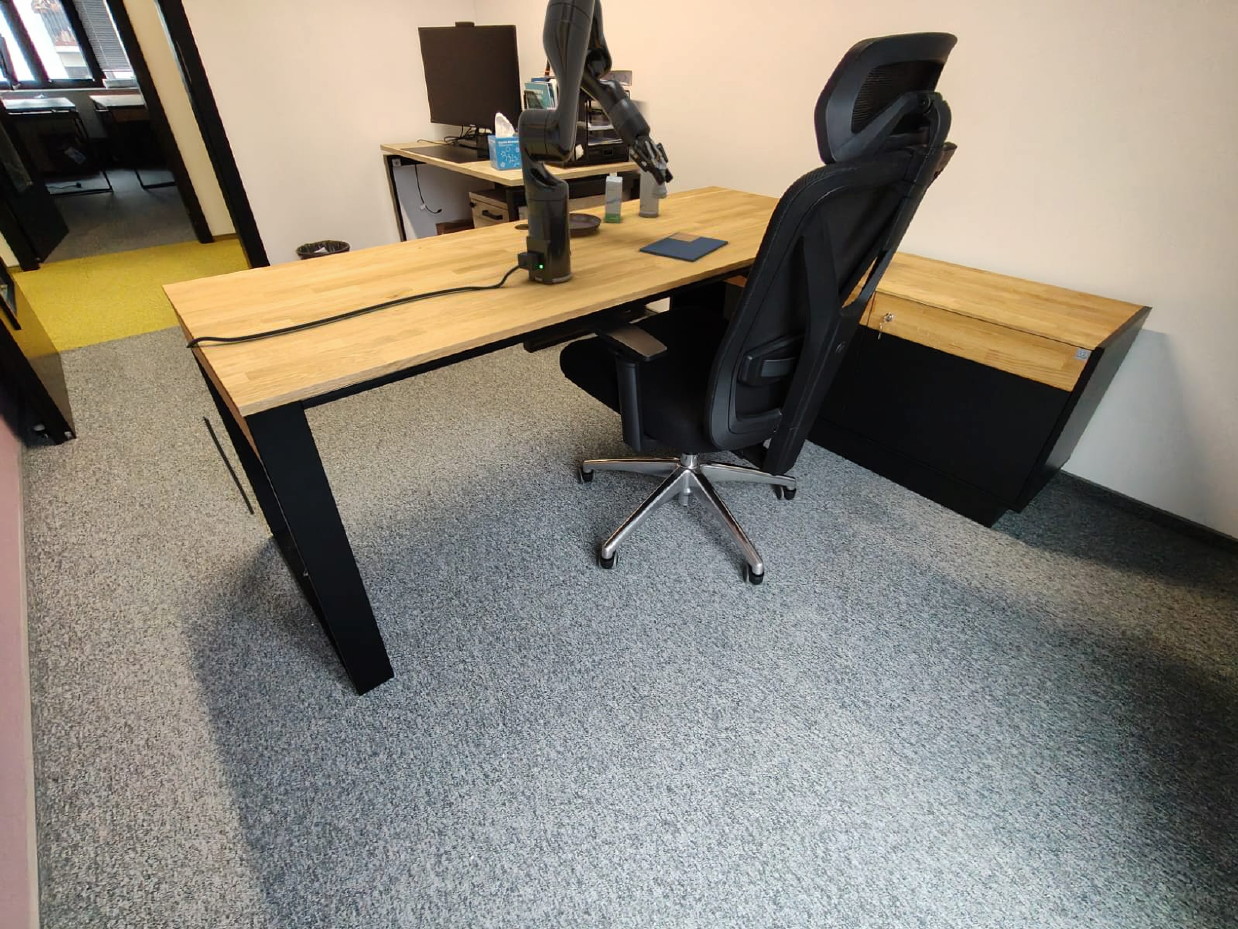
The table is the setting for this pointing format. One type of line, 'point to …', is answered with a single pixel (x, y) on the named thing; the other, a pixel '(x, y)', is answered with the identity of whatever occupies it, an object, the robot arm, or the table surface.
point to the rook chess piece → (659, 190)
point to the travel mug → (647, 196)
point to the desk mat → (684, 246)
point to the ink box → (613, 199)
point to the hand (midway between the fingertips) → (666, 181)
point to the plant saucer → (583, 224)
